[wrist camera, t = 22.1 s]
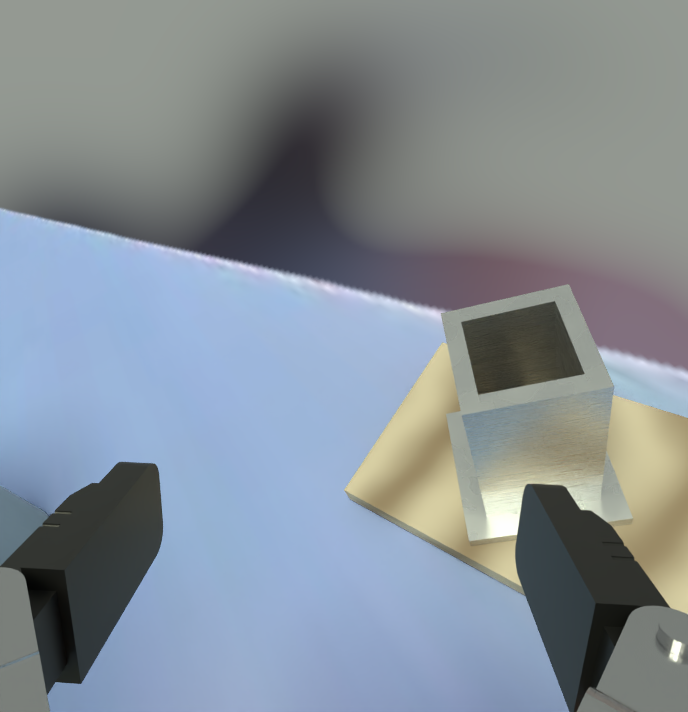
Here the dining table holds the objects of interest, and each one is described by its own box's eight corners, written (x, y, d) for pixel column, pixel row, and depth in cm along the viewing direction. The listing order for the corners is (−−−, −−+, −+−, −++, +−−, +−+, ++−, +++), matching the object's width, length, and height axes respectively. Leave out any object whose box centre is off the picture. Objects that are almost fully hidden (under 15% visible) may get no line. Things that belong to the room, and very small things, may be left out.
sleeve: (470, 546, 32) (436, 445, 23) (447, 419, 38) (413, 302, 29) (631, 523, 30) (660, 405, 22) (581, 394, 36) (587, 261, 27)
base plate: (350, 499, 38) (325, 462, 34) (445, 354, 44) (433, 307, 40) (665, 672, 27) (684, 648, 23) (739, 448, 33) (764, 396, 29)
